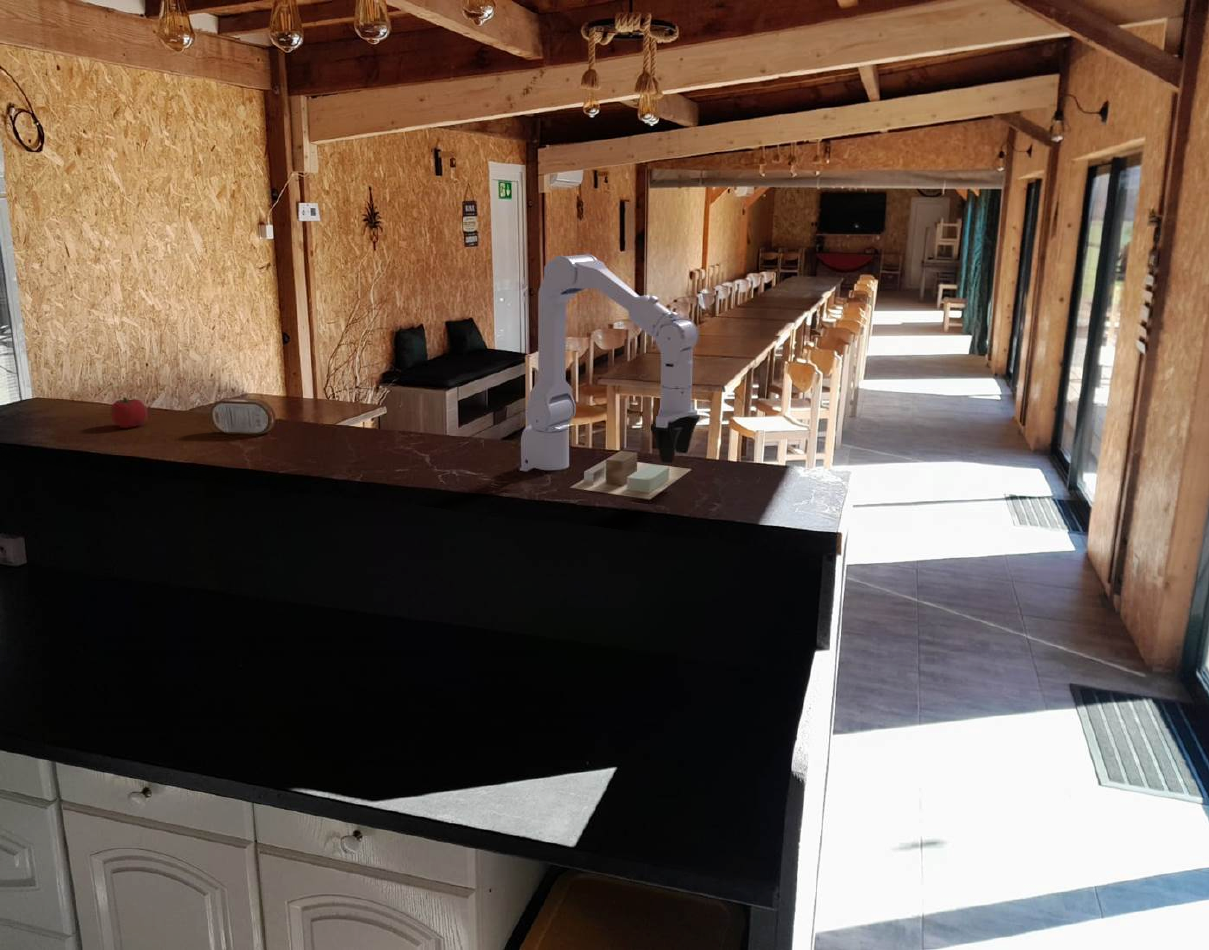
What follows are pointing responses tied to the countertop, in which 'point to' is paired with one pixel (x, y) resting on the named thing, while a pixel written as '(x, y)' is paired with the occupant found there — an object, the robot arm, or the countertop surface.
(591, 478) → the block
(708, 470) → the countertop surface
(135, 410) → the tomato
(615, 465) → the block
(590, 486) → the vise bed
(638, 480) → the block
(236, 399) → the tin
